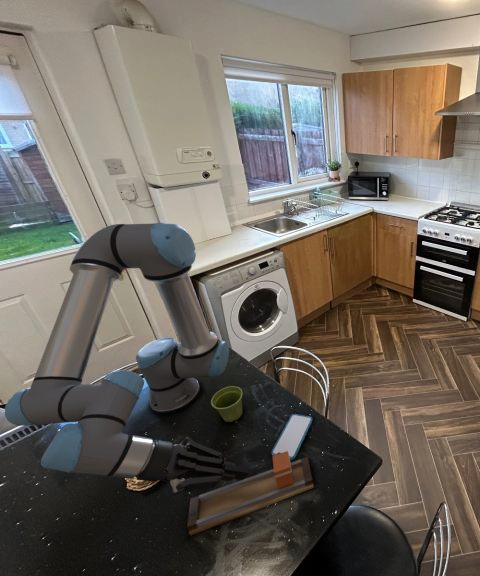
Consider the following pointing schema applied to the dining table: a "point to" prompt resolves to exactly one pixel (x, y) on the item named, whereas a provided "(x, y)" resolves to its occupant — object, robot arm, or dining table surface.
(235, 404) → the plant pot
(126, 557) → the dining table surface
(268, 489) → the rail
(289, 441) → the smartphone
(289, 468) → the orange block
